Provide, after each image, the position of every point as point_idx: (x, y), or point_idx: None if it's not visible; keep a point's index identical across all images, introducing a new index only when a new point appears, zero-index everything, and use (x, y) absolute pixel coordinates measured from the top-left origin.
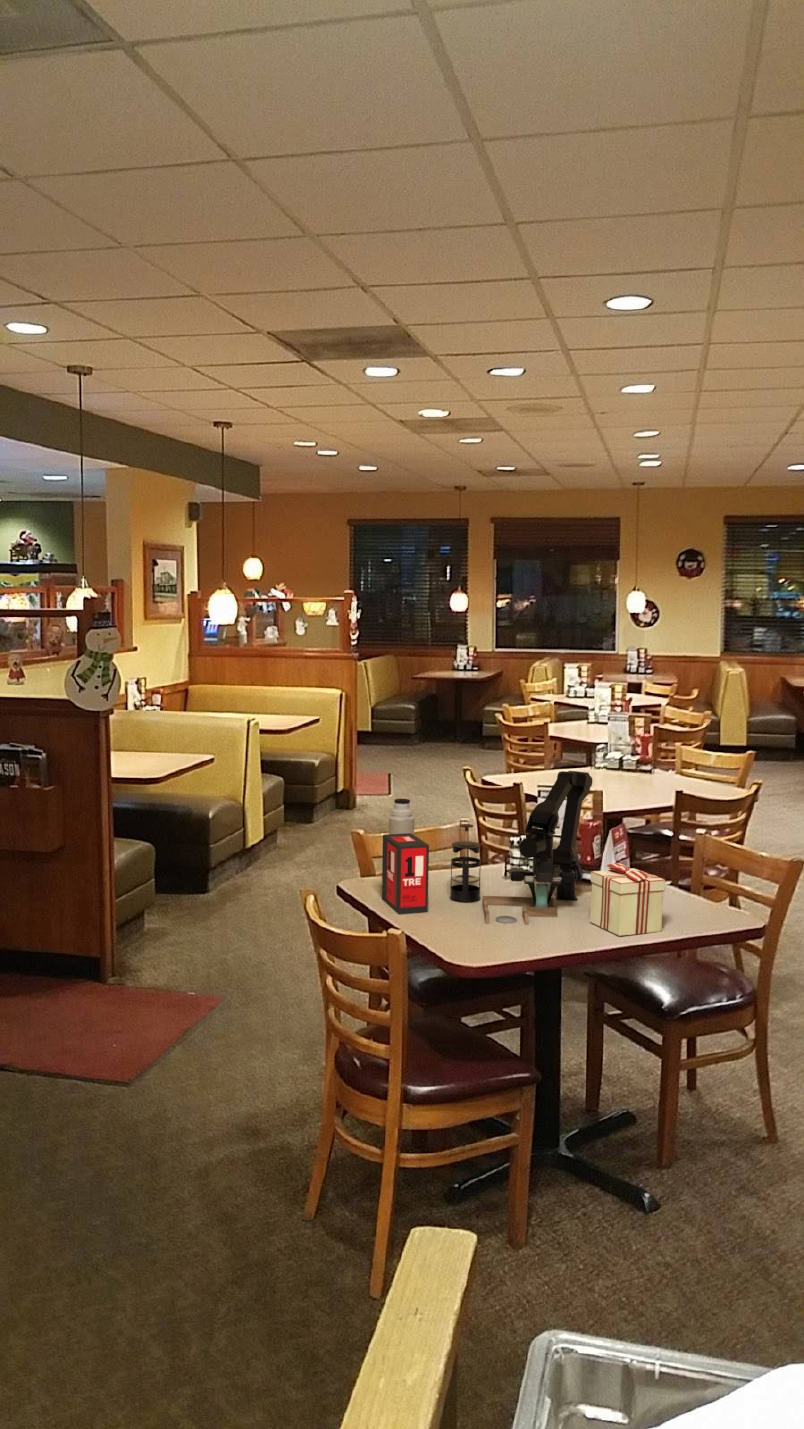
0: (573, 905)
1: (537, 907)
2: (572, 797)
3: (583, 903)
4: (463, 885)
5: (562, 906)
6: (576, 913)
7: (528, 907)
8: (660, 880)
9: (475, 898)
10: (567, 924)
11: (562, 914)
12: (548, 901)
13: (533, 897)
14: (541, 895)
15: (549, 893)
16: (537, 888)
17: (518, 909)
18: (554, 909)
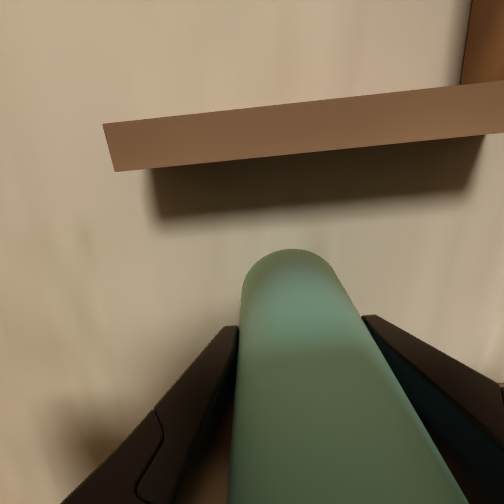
0: (73, 438)
1: (369, 137)
2: None
3: (23, 476)
4: None
5: (139, 412)
6: (3, 275)
7: (495, 116)
8: None
9: None
10: None
11: (109, 228)
12: (226, 337)
13: (426, 349)
14: (332, 353)
15: (201, 410)
16: (460, 492)
17: (470, 306)
18: (145, 120)
